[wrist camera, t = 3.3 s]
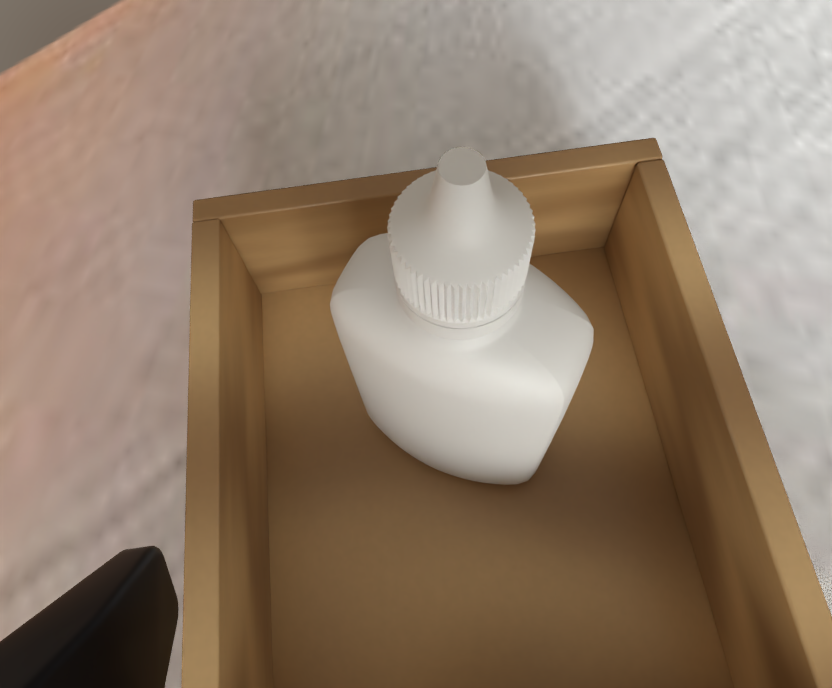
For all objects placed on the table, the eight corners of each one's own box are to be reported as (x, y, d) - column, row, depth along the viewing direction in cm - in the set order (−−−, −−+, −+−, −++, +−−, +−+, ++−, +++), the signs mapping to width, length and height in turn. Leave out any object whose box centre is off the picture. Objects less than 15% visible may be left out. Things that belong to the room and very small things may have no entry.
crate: (773, 731, 17) (889, 766, 12) (249, 806, 16) (176, 867, 12) (617, 230, 23) (656, 136, 19) (241, 282, 23) (192, 199, 19)
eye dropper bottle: (459, 319, 22) (465, -6, 11) (570, 452, 19) (720, 218, 9) (350, 391, 21) (235, 119, 10) (454, 538, 19) (456, 402, 8)
